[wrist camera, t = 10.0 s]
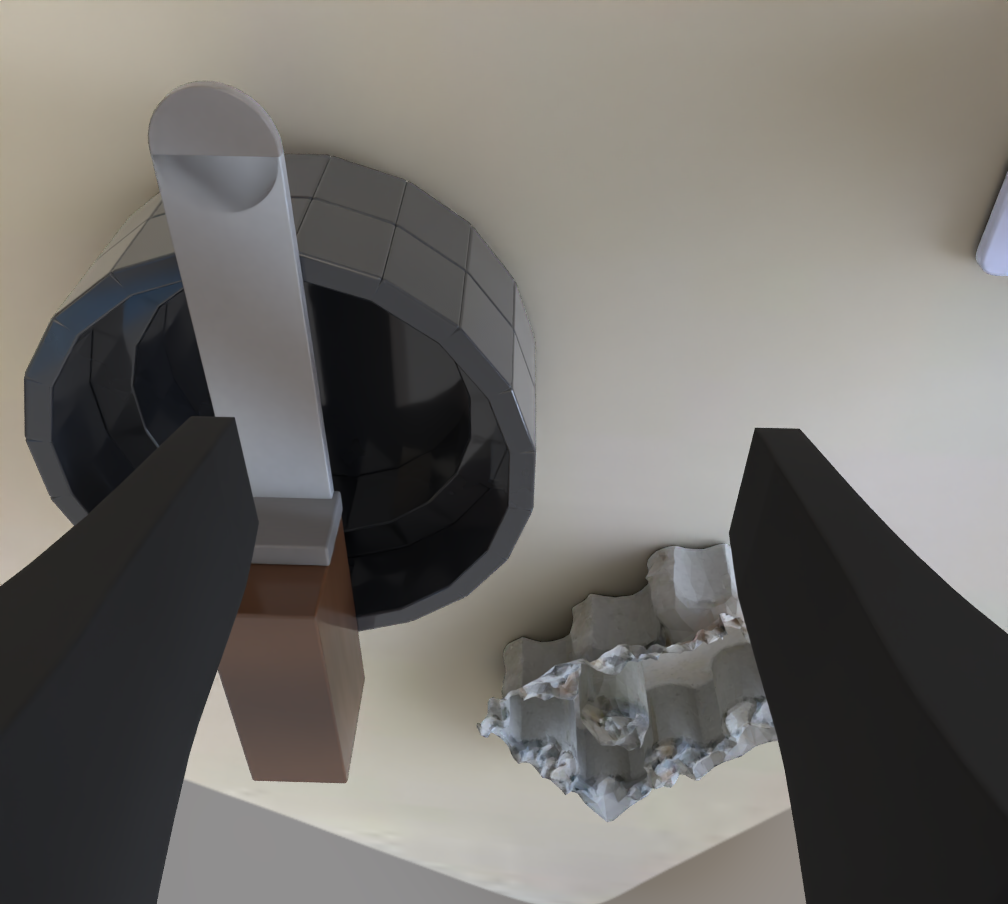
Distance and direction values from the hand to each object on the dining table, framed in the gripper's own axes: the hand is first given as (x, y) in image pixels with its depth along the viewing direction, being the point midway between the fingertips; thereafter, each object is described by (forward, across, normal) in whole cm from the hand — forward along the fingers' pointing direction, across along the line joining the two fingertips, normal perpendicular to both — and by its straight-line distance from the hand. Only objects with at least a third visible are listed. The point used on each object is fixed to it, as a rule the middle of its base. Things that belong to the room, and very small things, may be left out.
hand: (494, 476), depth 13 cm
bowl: (+10, +5, +5) cm, 12 cm away
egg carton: (+11, -5, +17) cm, 21 cm away
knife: (+5, +5, +5) cm, 9 cm away
